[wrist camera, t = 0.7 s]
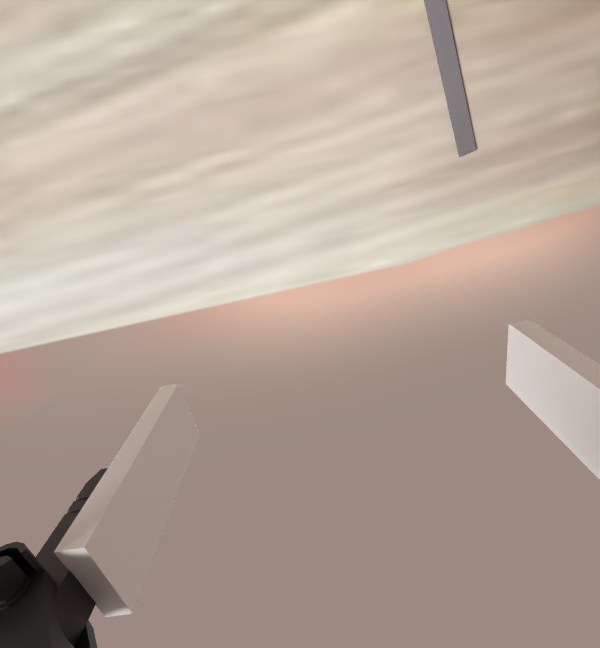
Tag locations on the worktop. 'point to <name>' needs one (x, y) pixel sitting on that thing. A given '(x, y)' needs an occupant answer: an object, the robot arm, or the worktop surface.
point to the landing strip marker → (450, 74)
